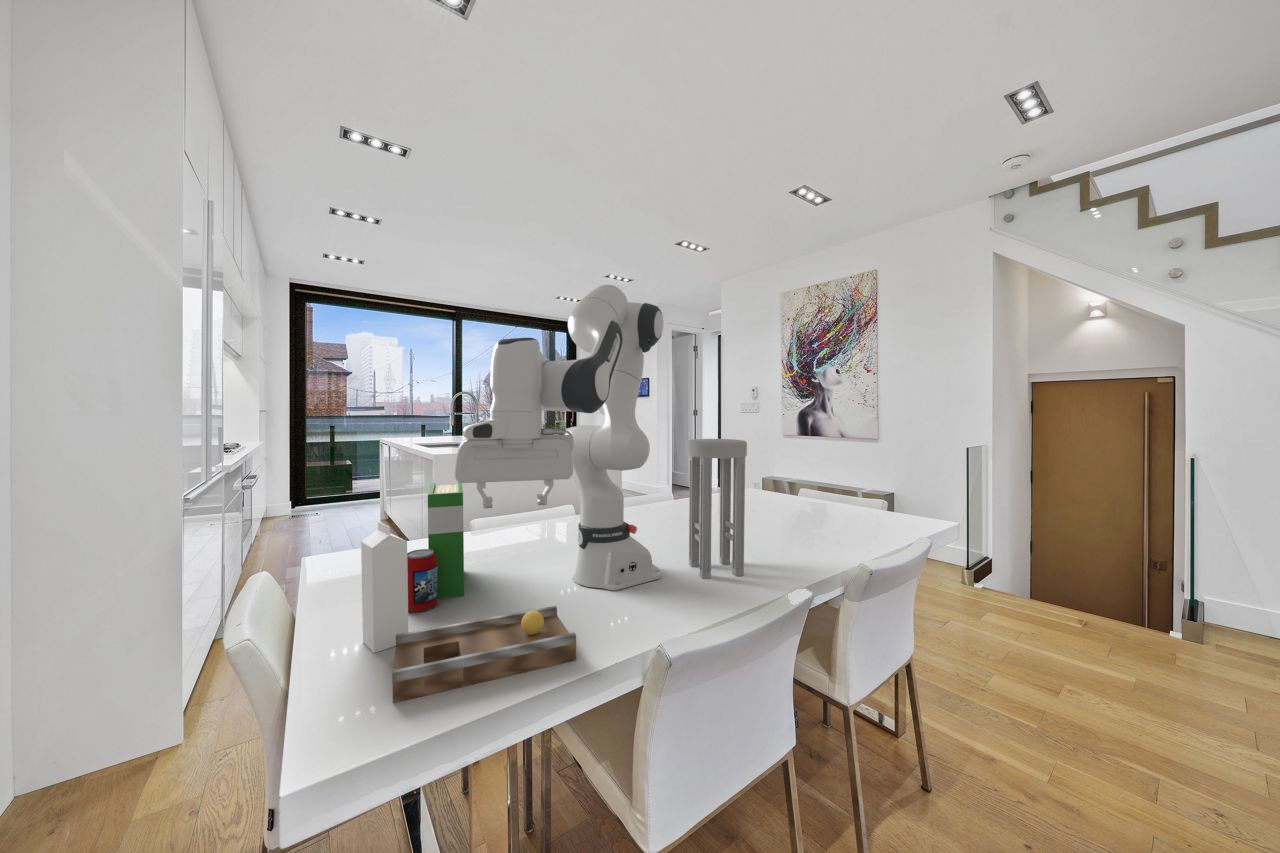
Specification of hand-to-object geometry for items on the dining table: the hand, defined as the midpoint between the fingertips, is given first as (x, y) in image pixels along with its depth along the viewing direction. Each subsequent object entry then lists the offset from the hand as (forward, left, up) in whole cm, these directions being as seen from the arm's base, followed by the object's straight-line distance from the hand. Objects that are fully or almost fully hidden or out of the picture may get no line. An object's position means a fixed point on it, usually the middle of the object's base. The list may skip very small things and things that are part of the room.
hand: (515, 506), depth 84 cm
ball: (-3, +1, -21) cm, 21 cm away
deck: (+5, +1, -26) cm, 27 cm away
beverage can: (+15, -27, -26) cm, 41 cm away
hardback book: (+9, -39, -26) cm, 48 cm away
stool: (-57, -20, -26) cm, 66 cm away
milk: (+21, -13, -26) cm, 36 cm away
